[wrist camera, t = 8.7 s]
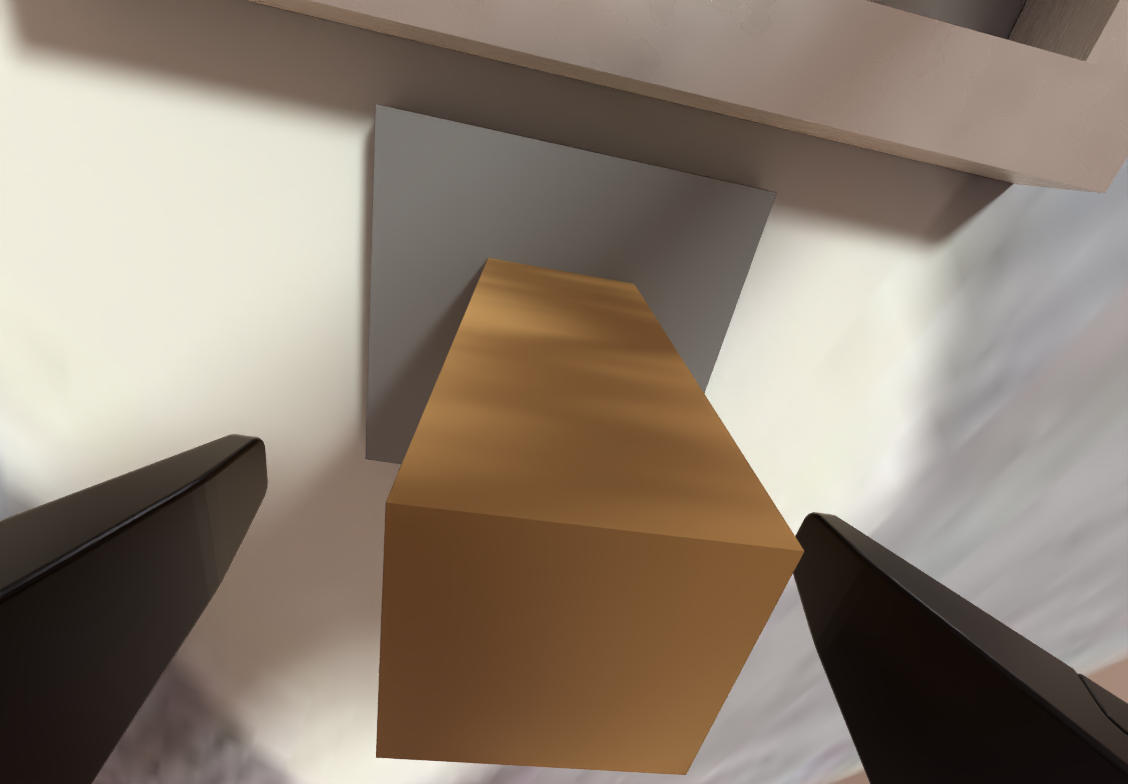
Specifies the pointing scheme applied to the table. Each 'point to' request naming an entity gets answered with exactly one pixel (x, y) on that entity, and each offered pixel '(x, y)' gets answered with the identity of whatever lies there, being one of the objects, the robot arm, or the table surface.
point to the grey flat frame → (824, 70)
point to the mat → (534, 246)
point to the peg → (569, 542)
